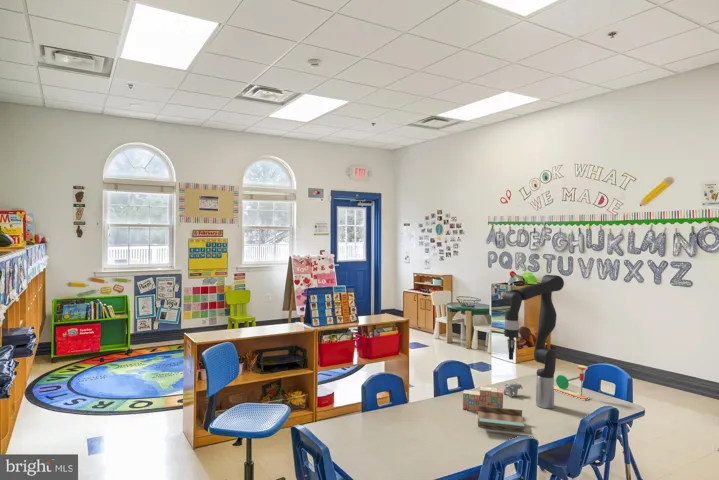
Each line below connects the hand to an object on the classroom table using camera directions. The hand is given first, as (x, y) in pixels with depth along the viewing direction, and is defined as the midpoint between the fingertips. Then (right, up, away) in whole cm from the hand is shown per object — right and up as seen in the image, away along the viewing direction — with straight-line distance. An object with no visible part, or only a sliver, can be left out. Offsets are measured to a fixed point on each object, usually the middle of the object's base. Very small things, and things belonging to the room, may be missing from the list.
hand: (510, 359), depth 257 cm
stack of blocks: (-15, -29, +1) cm, 33 cm away
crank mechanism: (+46, -30, +32) cm, 64 cm away
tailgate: (-13, -25, -25) cm, 38 cm away
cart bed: (-12, -29, -19) cm, 36 cm away
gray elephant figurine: (+10, -29, +28) cm, 41 cm away
